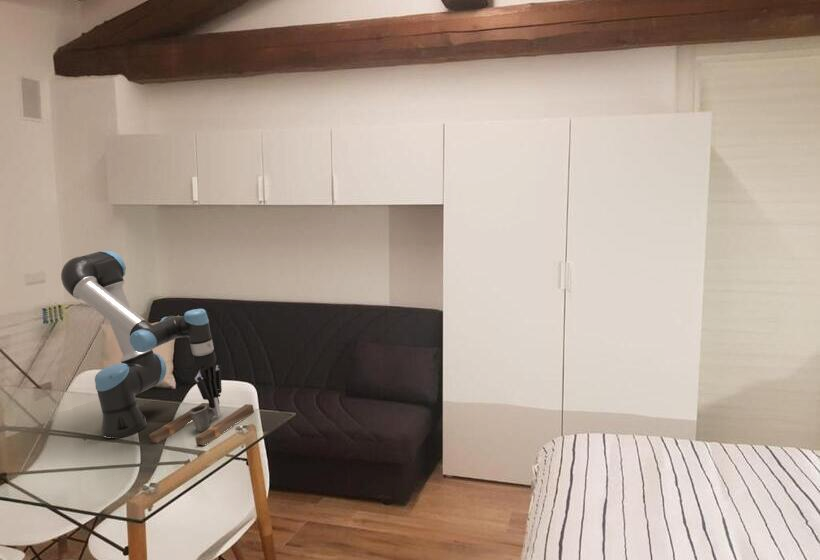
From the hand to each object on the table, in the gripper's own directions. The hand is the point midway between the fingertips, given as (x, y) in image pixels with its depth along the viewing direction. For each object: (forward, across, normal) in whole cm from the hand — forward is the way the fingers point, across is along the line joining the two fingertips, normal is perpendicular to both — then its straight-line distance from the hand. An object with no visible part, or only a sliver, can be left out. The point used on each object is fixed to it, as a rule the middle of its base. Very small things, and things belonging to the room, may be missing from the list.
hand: (216, 414), depth 239 cm
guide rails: (+1, -7, 0) cm, 7 cm away
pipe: (+2, -7, 0) cm, 7 cm away
